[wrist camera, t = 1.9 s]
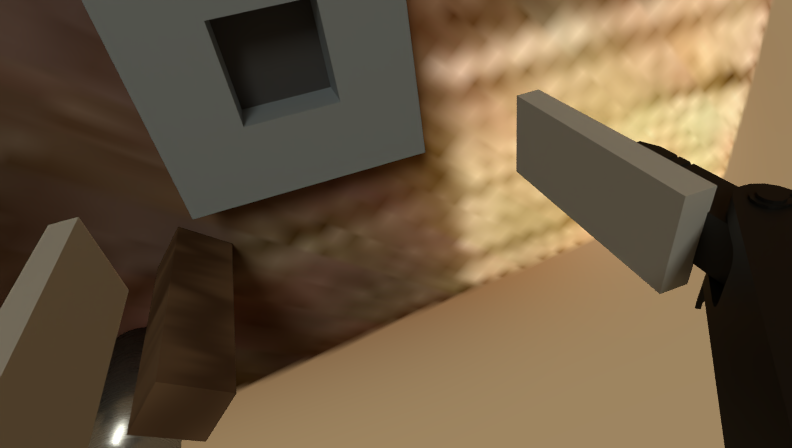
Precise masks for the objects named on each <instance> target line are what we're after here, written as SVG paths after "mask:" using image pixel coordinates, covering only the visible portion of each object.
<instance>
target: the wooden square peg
mask: <svg viewBox="0 0 792 448" xmlns="http://www.w3.org/2000/svg"><path fill="white" fill-rule="evenodd" d="M235 395H236V364H235V329H234V293H233V257H232V244H231V243H228V242H225V241H222V240H219V239H215V238H212V237H209V236H206V235H203V234H200V233H196V232H193V231H190V230H187V229H184V228H181V227H178V228H177V230H176V232H175V234H174V236H173V238H172V240H171V242H170V245H169V247H168V249H167V251H166V253H165V255H164V257H163V259H162V261H161V263H160V265H159V267H158V270H157V275H156V281H155V286H154V291H153V297H152V302H151V307H150V313H149V318H148V323H147V329H146V334H145V339H144V345H143V350H142V356H141V361H140V366H139V372H138V377H137V382H136V388H135V393H134V398H133V404H132V409H131V414H130V420H129V425H128V430H127V435H134V436H146V437H158V438H170V439H182V440H193V441H194V440H195V441H206V440H207V439H208V437H209V436H210V434H211V432H212V431H213V429H214V428H215V426H216V424H217V423H218V421H219V420H220V418H221V417H222V415H223V414H224V412H225V410H226V409H227V407H228V406H229V404H230V402H231V401H232V399H233V398H234V396H235Z"/></svg>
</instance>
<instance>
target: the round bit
mask: <svg viewBox="0 0 792 448" xmlns="http://www.w3.org/2000/svg"><path fill="white" fill-rule="evenodd" d="M146 329H147V327H144V328H137V329H134V330H131V331H128V332H126V333H124V334H122V335H120V336H119V337H117V338H116V341H115V345H114V349H113V353H112V357H111V361H110V365H109V368H108V372H107V376H106V380H105V384H104V388H103V392H102V396H101V400H100V404H99V408H98V412H97V415H96V419H95V423H94V427H93V431H92V435H91V439H90V443H89V447H88V448H181V441H182V439H170V438H158V437H146V436H134V435H127V430H128V425H129V420H130V414H131V409H132V404H133V398H134V393H135V388H136V382H137V377H138V372H139V366H140V361H141V356H142V350H143V345H144V339H145V334H146Z"/></svg>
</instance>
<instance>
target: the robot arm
mask: <svg viewBox="0 0 792 448" xmlns="http://www.w3.org/2000/svg"><path fill="white" fill-rule="evenodd" d="M517 172H518V173H519V174H520V175H522V176H523V177H524V178H525V179H526V180H527V181H529V182H530V183H531V184H532V185H533V186H534V187H536V188H537V189H538V190H539V191H540V192H541V193H543V194H544V195H545V196H546V197H547V198H548V199H550V200H551V201H552V202H553V203H554V204H555V205H557V206H558V207H559V208H560V209H561V210H562V211H564V212H565V213H566V214H567V215H568V216H569V217H571V218H572V219H573V220H574V221H575V222H576V223H578V224H579V225H580V226H581V227H582V228H583V229H585V230H586V231H587V232H588V233H589V234H590V235H592V236H593V237H594V238H595V239H596V240H597V241H599V242H600V243H601V244H602V245H603V246H604V247H606V248H607V249H608V250H609V251H610V252H611V253H613V254H614V255H615V256H616V257H617V258H619V259H620V260H621V261H622V262H623V263H624V264H625V265H627V266H628V267H629V268H630V269H631V270H632V271H634V272H635V273H636V274H637V275H639V276H640V277H641V278H642V279H643V280H644V281H645V282H647V283H648V284H649V285H650V286H651V287H652V288H654V289H655V290H656V291H657V292H658V293H659V294H661V293H664V292H667V291H669V290H672V289H674V288H677V287H680V286H683V285H685V284H687V283H688V280H689V277H690V273H691V270H692V267H693V264H695V265H696V266H697V267H699V268H700V269H701V270H703V271H704V272H706V275H705V278H704V281H703V284H702V287H701V290H700V293H699V296H698V299H697V302H696V306H695V308H696V309H701V306H702V303H703V302H704V301H705V306H706V313H707V321H708V328H709V335H710V343H711V350H712V357H713V364H714V372H715V379H716V386H717V394H718V401H719V408H720V416H721V423H722V429H723V437H724V445H725V448H792V190H790V189H787V188H784V187H781V186H777V185H769V184H748V185H744V186H740V187H737V186H735V185H734V184H732V183H730V182H728V181H726V180H724V179H722V178H720V177H718V176H716V175H714V174H712V173H711V172H709V171H707V170H705V169H703V168H701V167H699V166H697V165H695V164H692V165H691V163H690V162H689V161H687V160H685V159H683V158H682V157H677V155H676V154H674V153H672V152H670V151H668V150H666V149H664V148H662V147H660V146H656V145H652V144H648V143H645V142H641V141H639V142H635V141H633V140H631V139H630V138H628V137H626V136H624V135H622V134H620V133H618V132H616V131H615V130H613V129H611V128H609V127H607V126H605V125H603V124H602V123H600V122H598V121H596V120H594V119H592V118H590V117H589V116H587V115H585V114H583V113H581V112H579V111H577V110H576V109H574V108H572V107H570V106H568V105H566V104H564V103H563V102H561V101H559V100H557V99H555V98H553V97H551V96H550V95H548V94H546V93H544V92H542V91H540V90H535V91H532V92H528V93H525V94H521V95H517ZM127 294H128V288H127V287H126V286H125V284H124V283H123V281H122V280H121V278H120V277H119V275H118V274H117V272H116V271H115V270H114V268H113V267H112V265H111V264H110V262H109V261H108V259H107V258H106V256H105V255H104V253H103V252H102V251H101V249H100V248H99V246H98V245H97V243H96V242H95V240H94V239H93V237H92V236H91V235H90V233H89V232H88V230H87V229H86V227H85V226H84V224H83V223H82V221H81V220H80V218H79V217H76V218H73V219H69V220H66V221H62V222H58V223H55V224H51V225H48V227H47V228H46V230H45V232H44V234H43V235H42V237H41V239H40V240H39V242H38V244H37V246H36V247H35V249H34V251H33V253H32V254H31V256H30V258H29V260H28V261H27V263H26V265H25V267H24V268H23V270H22V272H21V274H20V275H19V277H18V279H17V281H16V282H15V284H14V286H13V288H12V289H11V291H10V293H9V295H8V296H7V298H6V300H5V302H4V303H3V305H2V307H1V309H0V448H88V447H89V443H90V439H91V435H92V431H93V427H94V423H95V419H96V415H97V412H98V408H99V404H100V400H101V396H102V392H103V388H104V384H105V380H106V376H107V372H108V368H109V365H110V361H111V357H112V353H113V349H114V345H115V341H116V337H117V333H118V329H119V325H120V321H121V318H122V314H123V310H124V306H125V302H126V298H127Z"/></svg>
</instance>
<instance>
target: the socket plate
mask: <svg viewBox="0 0 792 448" xmlns="http://www.w3.org/2000/svg"><path fill="white" fill-rule="evenodd" d="M82 2H83V4H84V6H85V8H86V10H87V12H88V14H89V16H90V18H91V20H92V22H93V24H94V26H95V28H96V30H97V32H98V34H99V36H100V37H101V39H102V41H103V43H104V45H105V47H106V49H107V51H108V53H109V55H110V57H111V59H112V61H113V63H114V65H115V67H116V69H117V71H118V73H119V75H120V77H121V79H122V81H123V83H124V85H125V87H126V89H127V91H128V93H129V95H130V97H131V99H132V101H133V103H134V104H135V106H136V108H137V110H138V112H139V114H140V116H141V118H142V120H143V122H144V124H145V126H146V128H147V130H148V132H149V134H150V136H151V138H152V140H153V142H154V144H155V146H156V148H157V150H158V152H159V154H160V156H161V158H162V160H163V162H164V164H165V166H166V168H167V170H168V171H169V173H170V175H171V177H172V179H173V181H174V183H175V185H176V187H177V189H178V191H179V193H180V195H181V197H182V199H183V201H184V203H185V205H186V207H187V209H188V211H189V213H190V215H191V217H192V219H196V218H199V217H203V216H206V215H210V214H213V213H217V212H220V211H224V210H227V209H231V208H234V207H237V206H241V205H244V204H248V203H251V202H255V201H258V200H262V199H265V198H269V197H272V196H276V195H279V194H283V193H286V192H289V191H293V190H296V189H300V188H303V187H307V186H310V185H314V184H317V183H321V182H324V181H328V180H331V179H335V178H338V177H341V176H345V175H348V174H352V173H355V172H359V171H362V170H366V169H369V168H373V167H376V166H380V165H383V164H387V163H390V162H394V161H397V160H400V159H404V158H407V157H411V156H414V155H418V154H421V153H425V147H424V139H423V131H422V123H421V115H420V107H419V99H418V91H417V83H416V75H415V67H414V59H413V51H412V43H411V35H410V28H409V20H408V12H407V4H406V0H82Z"/></svg>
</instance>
